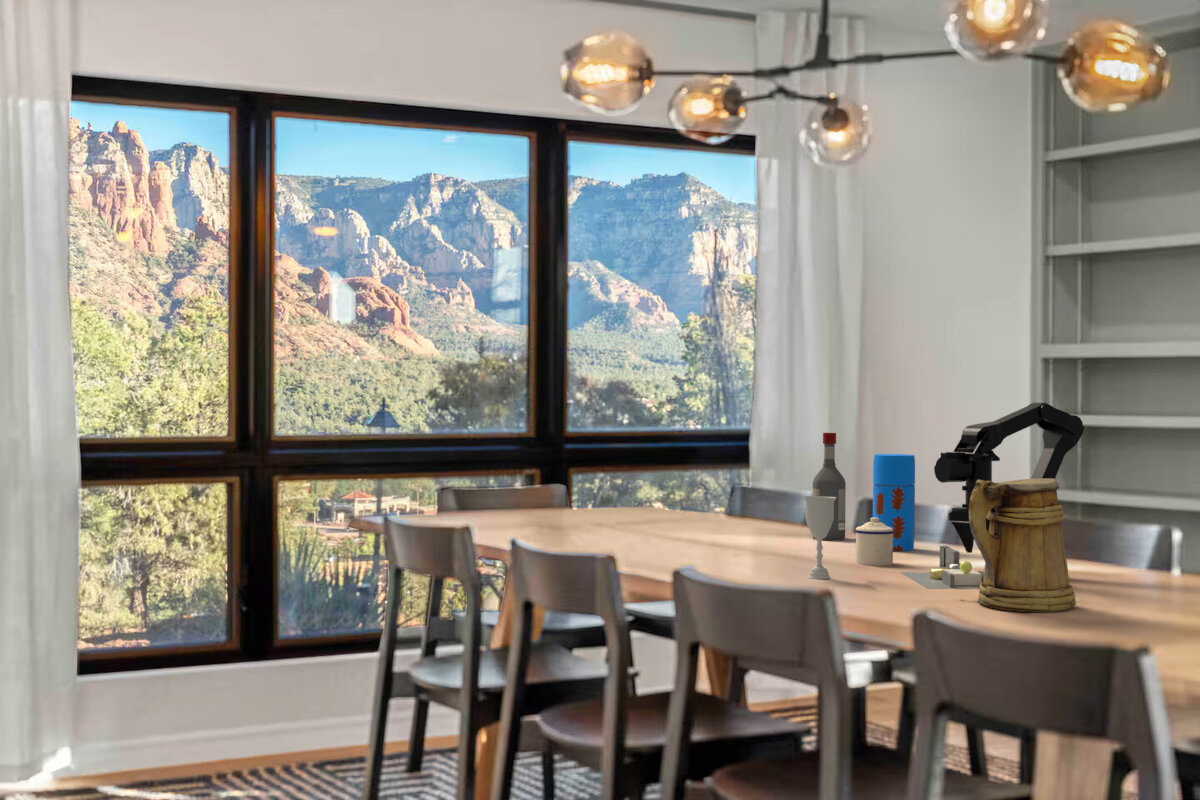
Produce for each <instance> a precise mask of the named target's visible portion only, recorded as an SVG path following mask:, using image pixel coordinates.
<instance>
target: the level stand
mask: <svg viewBox="0 0 1200 800" xmlns="http://www.w3.org/2000/svg"><path fill="white" fill-rule="evenodd" d="M977 572H978V573H980V574H982V582H983V578H984V570H983V571H982V570H978V571H977ZM899 573H900V574H902V575H904V576H905V577H906V578H909V579H911V581H913V582H916V583H917V584H919V585H920V586H922V587H924V588H925V589H929V590H930V589H932V590H937V589H938V590H939V589H940V590H942V589H943V590H948V589H949V590H959V589H960V590H979V586H975V585H954V575H953V573H949V572H947V571H942V580H939V579H933V578H930V571H928V572H924V571H922V572H921V571H920V572H919V571H917V572H916V571H915V572H911V571H910V572H907V571H906V572H905V571H903V572H902V571H900V572H899Z"/></svg>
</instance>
